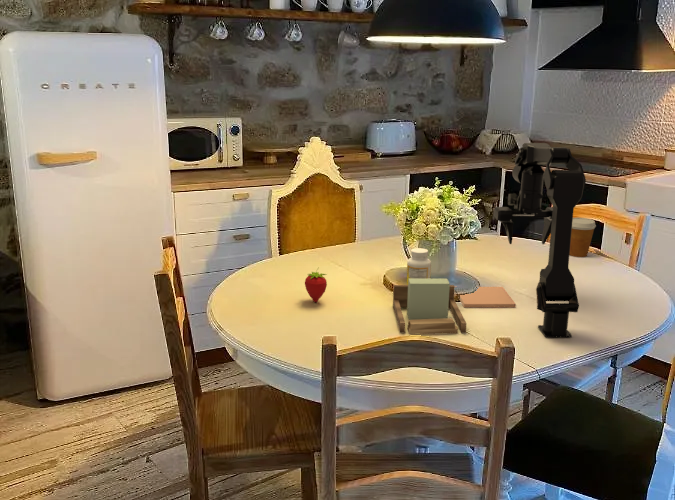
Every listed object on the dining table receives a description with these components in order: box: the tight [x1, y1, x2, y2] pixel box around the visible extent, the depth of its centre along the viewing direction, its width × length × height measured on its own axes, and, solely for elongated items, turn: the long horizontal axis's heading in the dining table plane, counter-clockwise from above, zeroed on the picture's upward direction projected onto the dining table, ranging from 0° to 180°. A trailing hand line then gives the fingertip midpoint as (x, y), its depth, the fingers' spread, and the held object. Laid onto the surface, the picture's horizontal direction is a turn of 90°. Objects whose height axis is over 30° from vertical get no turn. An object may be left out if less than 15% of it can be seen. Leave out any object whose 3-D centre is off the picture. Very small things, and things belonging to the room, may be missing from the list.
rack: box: [392, 284, 467, 334], centre depth 173 cm, size 18×16×6 cm
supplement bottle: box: [406, 247, 432, 285], centre depth 190 cm, size 7×7×13 cm
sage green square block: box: [406, 278, 451, 320], centre depth 173 cm, size 4×10×10 cm, turn 91°
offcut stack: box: [406, 317, 459, 335], centre depth 166 cm, size 4×12×3 cm, turn 93°
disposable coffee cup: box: [569, 217, 597, 258], centre depth 229 cm, size 10×10×12 cm
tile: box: [459, 286, 517, 309], centre depth 188 cm, size 14×14×1 cm
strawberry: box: [304, 268, 328, 303], centre depth 183 cm, size 6×8×10 cm
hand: (526, 243), depth 189 cm, fingers open, 9 cm apart
